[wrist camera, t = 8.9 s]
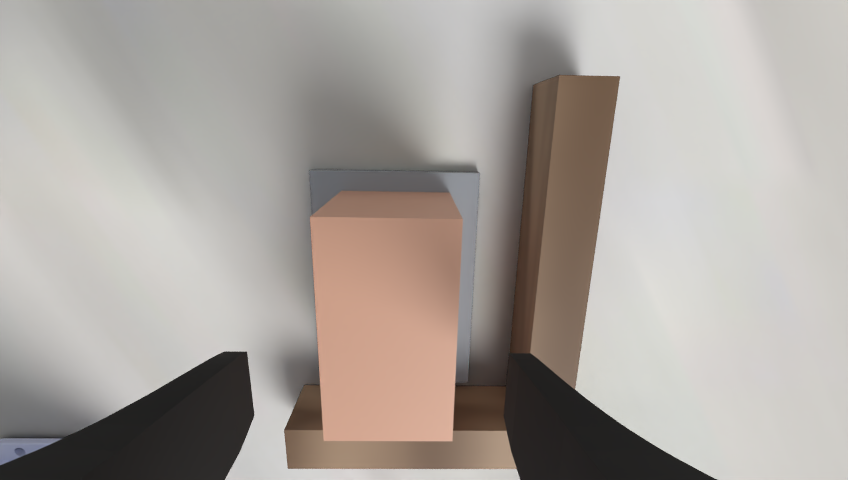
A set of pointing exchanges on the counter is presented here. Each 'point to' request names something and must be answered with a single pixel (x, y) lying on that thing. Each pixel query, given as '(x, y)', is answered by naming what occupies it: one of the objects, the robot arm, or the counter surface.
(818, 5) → the counter surface
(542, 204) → the brown l-shaped piece
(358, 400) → the block
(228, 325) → the counter surface
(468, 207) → the mat
